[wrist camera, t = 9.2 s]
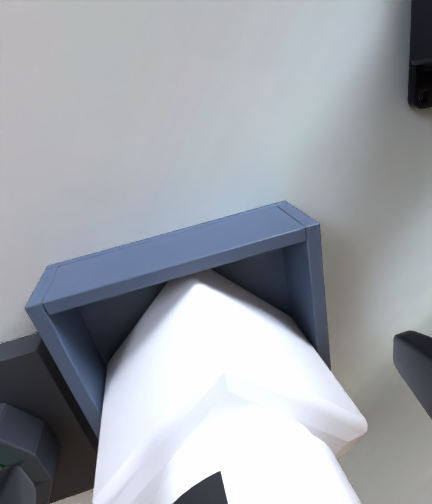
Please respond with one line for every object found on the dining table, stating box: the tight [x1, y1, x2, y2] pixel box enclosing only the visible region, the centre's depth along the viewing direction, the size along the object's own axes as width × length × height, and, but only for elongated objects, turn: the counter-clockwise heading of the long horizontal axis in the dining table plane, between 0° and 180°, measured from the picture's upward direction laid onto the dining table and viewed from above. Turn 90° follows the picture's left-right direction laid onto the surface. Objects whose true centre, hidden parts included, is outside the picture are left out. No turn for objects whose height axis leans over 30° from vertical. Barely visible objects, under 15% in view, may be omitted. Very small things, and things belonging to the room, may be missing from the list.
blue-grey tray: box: [25, 201, 331, 440], centre depth 17 cm, size 11×12×3 cm
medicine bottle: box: [92, 269, 368, 504], centre depth 12 cm, size 7×7×12 cm
